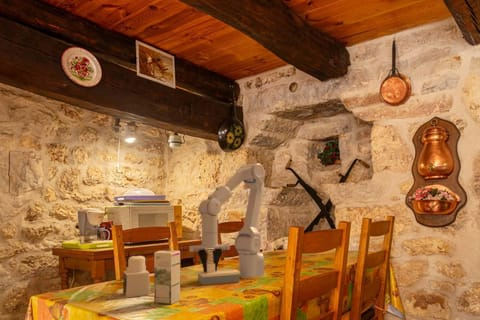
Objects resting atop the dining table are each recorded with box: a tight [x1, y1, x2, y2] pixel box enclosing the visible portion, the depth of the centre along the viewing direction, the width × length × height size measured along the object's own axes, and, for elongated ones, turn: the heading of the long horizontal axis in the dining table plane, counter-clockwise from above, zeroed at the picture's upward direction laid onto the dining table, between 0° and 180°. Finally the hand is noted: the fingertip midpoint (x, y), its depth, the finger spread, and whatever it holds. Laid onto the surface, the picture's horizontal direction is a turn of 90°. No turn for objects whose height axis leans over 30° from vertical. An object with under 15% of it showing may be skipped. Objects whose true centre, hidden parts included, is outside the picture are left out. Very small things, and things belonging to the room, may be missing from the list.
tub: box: [197, 273, 240, 287], centre depth 137 cm, size 13×9×3 cm
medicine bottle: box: [122, 254, 150, 299], centre depth 122 cm, size 7×7×12 cm
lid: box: [196, 262, 240, 277], centre depth 138 cm, size 14×10×4 cm
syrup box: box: [153, 249, 181, 305], centre depth 112 cm, size 6×6×14 cm
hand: (210, 271), depth 137 cm, fingers closed on lid, 3 cm apart
